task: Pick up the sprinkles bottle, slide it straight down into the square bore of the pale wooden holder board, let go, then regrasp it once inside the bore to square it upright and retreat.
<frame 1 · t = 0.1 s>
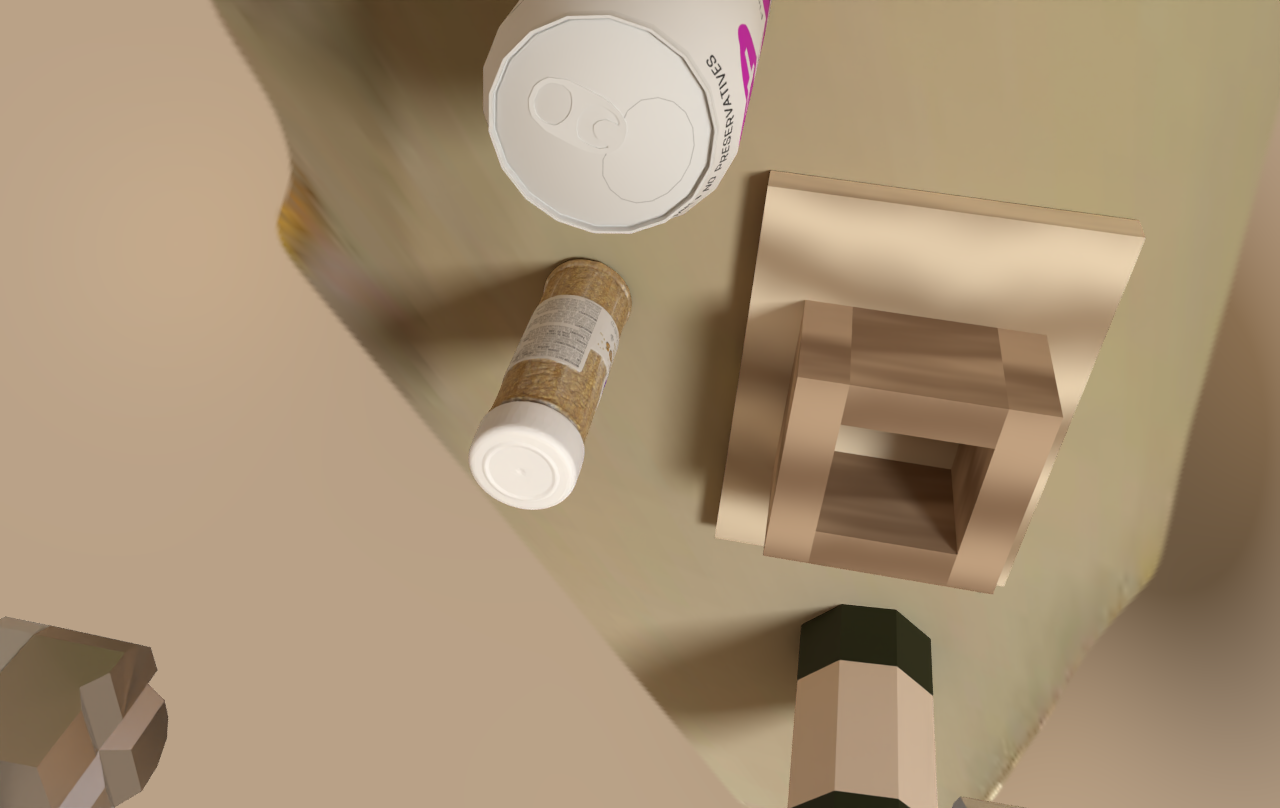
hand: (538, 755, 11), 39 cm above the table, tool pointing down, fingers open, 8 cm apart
holder board: (899, 390, 55), on the table
sprinkles bottle: (589, 291, 55), on the table
wine bottle: (863, 646, 68), on the table
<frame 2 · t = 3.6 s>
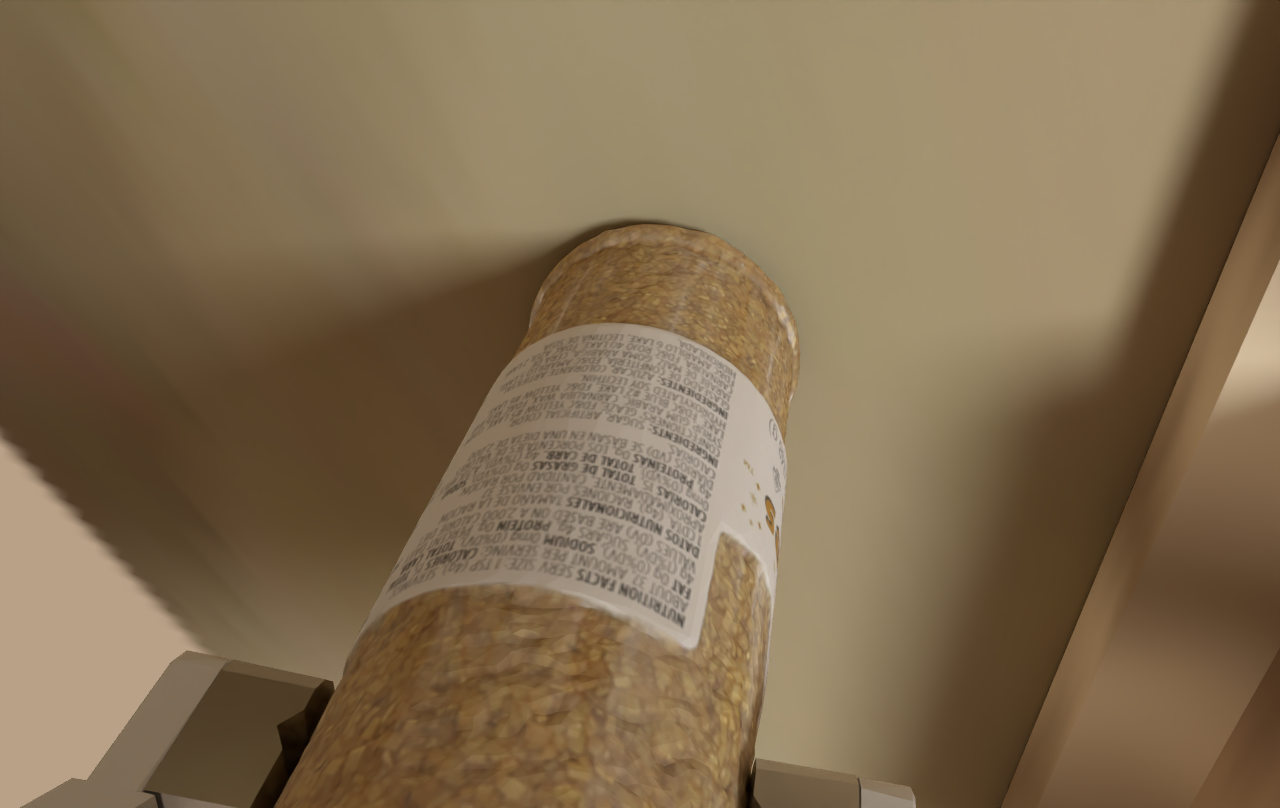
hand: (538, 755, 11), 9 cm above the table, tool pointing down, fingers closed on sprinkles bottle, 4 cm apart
sprinkles bottle: (666, 333, 18), on the table, touching gripper
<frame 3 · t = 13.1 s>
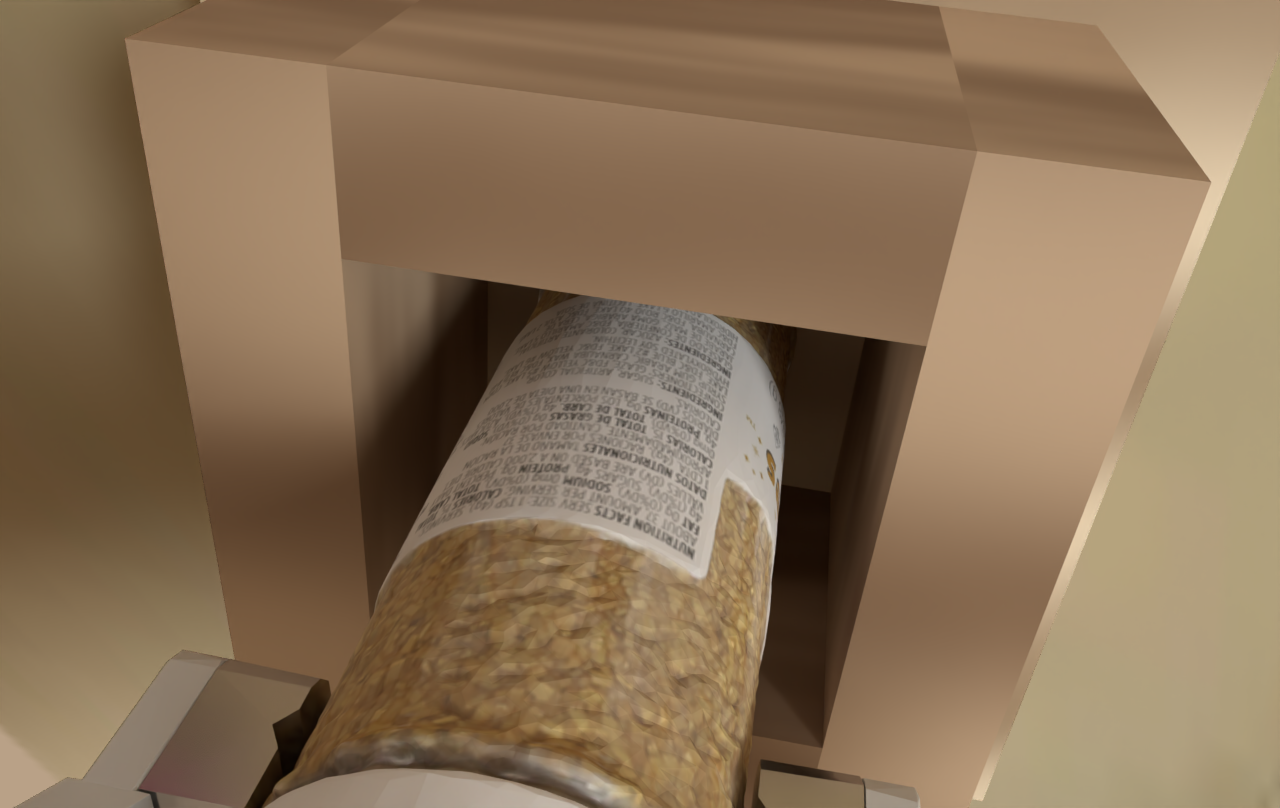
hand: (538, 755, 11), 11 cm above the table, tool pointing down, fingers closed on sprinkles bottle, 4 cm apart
holder board: (684, 273, 20), on the table
sprinkles bottle: (669, 307, 19), point 1 cm above the table, touching gripper, holder board
when the fingers open (11 cm above the table, at t = 14.2 s): sprinkles bottle stays where it is, resting on holder board.
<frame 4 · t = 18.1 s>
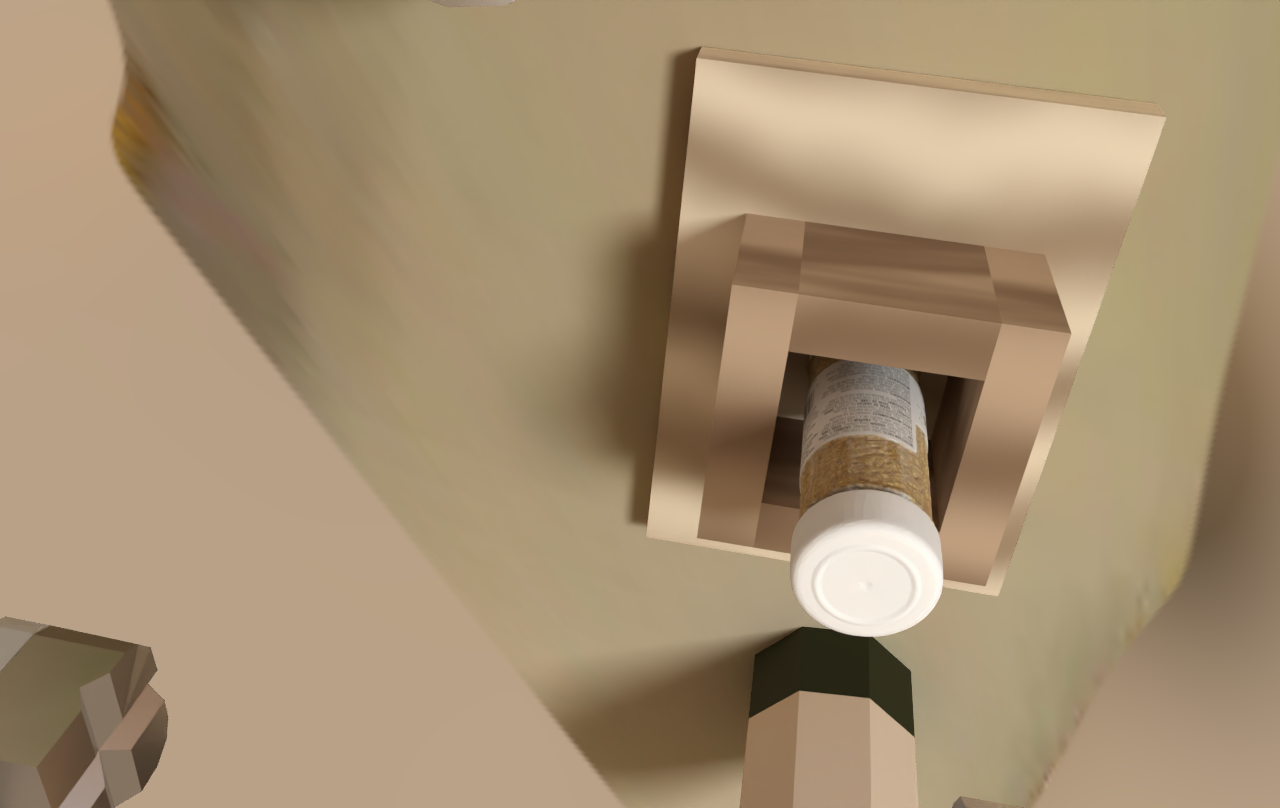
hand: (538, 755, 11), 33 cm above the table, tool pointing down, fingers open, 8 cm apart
holder board: (865, 341, 45), on the table
sprinkles bottle: (863, 357, 44), point 1 cm above the table, touching holder board
wine bottle: (830, 682, 56), on the table
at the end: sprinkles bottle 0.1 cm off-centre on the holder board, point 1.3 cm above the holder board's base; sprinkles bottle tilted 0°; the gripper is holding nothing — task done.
